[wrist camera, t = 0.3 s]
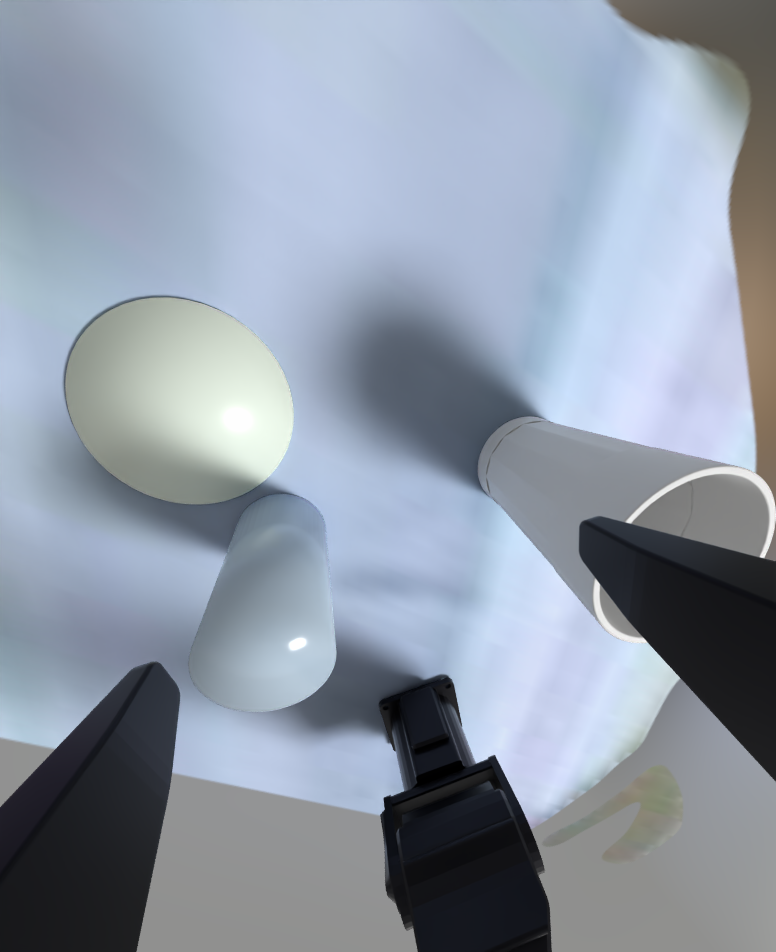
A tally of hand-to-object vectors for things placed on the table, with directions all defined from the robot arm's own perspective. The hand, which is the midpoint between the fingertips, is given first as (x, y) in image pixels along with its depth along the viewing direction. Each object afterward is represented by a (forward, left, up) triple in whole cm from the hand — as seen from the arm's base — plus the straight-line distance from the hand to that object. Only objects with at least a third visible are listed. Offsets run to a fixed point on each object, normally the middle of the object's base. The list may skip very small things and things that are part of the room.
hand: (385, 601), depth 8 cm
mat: (+3, +7, -15) cm, 17 cm away
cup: (-6, -12, -16) cm, 20 cm away
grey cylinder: (-6, +5, -15) cm, 17 cm away
